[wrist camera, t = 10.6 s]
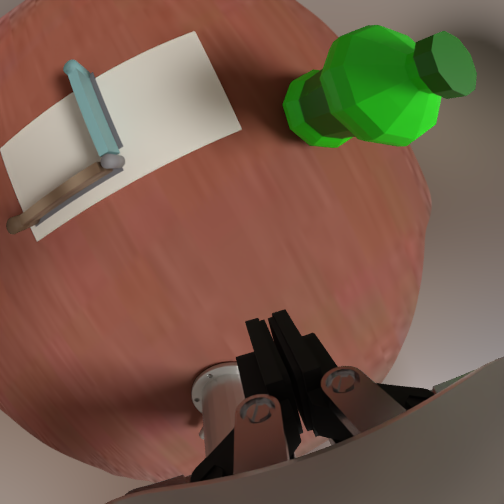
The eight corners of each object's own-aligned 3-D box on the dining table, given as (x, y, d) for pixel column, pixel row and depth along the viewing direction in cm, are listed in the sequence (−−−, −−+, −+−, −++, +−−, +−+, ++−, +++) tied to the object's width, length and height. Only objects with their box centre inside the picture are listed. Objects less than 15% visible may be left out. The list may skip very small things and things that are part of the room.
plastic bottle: (355, 96, 35) (501, 52, 12) (333, 163, 38) (489, 174, 14) (289, 64, 33) (401, -36, 9) (263, 135, 35) (373, 86, 12)
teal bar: (127, 163, 33) (117, 163, 28) (115, 171, 33) (103, 171, 28) (88, 68, 28) (74, 56, 23) (76, 75, 28) (61, 65, 23)
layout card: (38, 240, 33) (36, 241, 33) (-1, 143, 28) (-3, 143, 28) (241, 129, 35) (242, 129, 34) (191, 26, 30) (191, 25, 29)
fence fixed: (33, 227, 32) (10, 237, 27) (27, 214, 32) (4, 222, 26) (114, 173, 33) (99, 174, 27) (108, 159, 32) (92, 158, 27)
